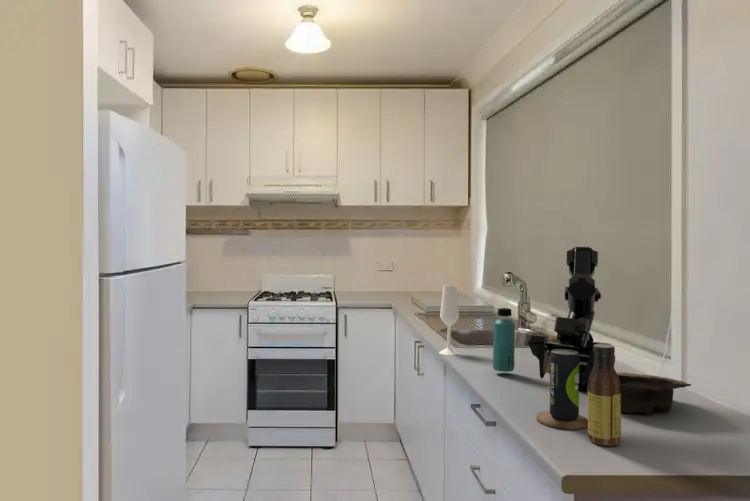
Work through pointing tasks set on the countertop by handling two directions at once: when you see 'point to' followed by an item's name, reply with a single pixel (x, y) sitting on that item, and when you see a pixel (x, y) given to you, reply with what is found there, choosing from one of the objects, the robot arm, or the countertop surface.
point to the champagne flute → (449, 313)
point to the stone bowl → (647, 392)
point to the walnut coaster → (561, 422)
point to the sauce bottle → (604, 398)
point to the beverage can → (564, 384)
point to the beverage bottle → (504, 342)
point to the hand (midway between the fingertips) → (561, 380)
